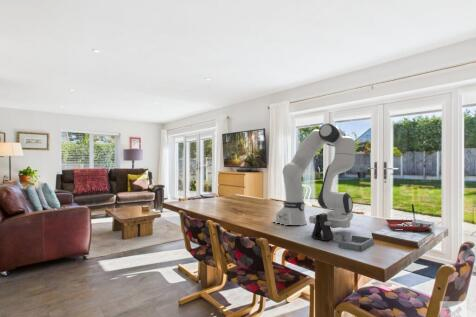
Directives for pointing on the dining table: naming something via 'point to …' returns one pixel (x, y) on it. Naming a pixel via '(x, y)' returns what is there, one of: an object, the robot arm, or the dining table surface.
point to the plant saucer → (394, 226)
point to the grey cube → (339, 237)
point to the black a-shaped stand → (322, 228)
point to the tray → (364, 245)
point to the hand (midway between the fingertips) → (321, 223)
